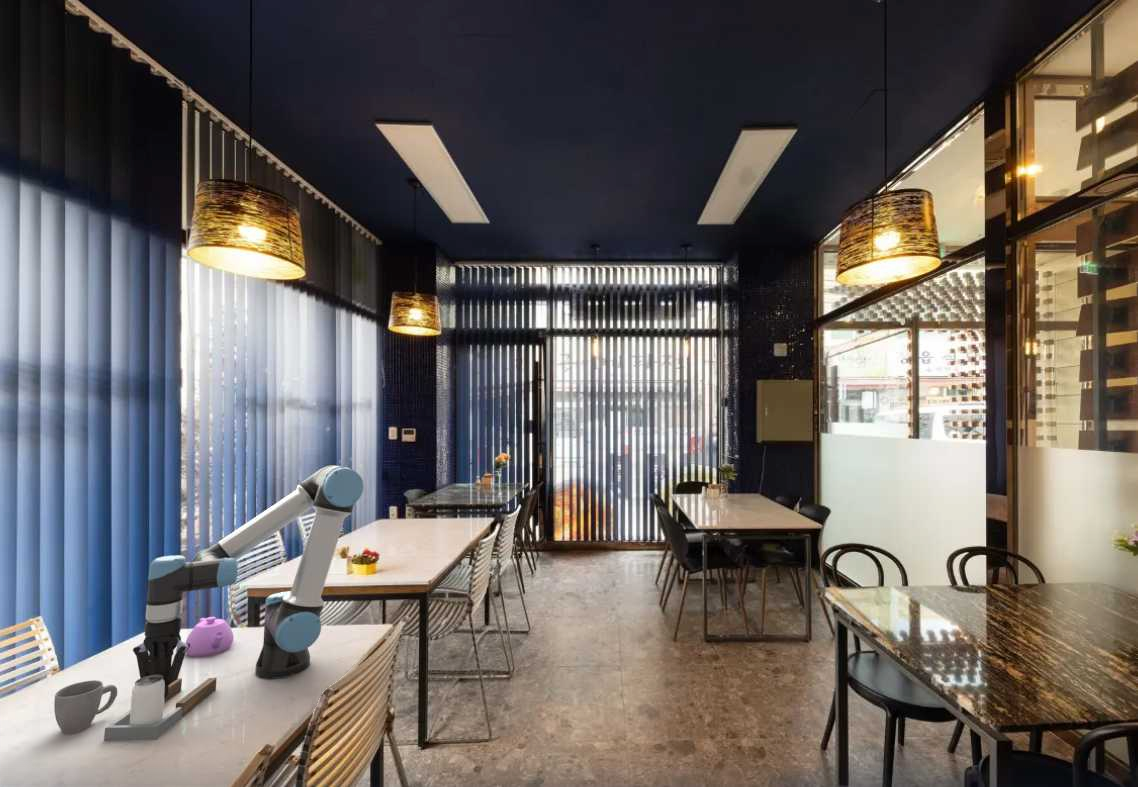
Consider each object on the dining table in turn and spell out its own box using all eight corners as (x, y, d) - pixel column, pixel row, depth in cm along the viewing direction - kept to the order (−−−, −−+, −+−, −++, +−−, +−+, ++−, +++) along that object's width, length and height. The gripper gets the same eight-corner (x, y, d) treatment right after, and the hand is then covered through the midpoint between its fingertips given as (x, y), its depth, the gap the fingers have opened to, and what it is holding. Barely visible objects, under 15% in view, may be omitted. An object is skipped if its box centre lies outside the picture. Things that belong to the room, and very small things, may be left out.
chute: (215, 690, 150) (216, 677, 150) (183, 717, 136) (184, 703, 136) (173, 691, 149) (174, 678, 149) (136, 718, 135) (137, 703, 135)
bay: (181, 719, 135) (182, 707, 135) (156, 739, 126) (157, 726, 126) (132, 720, 134) (133, 708, 134) (103, 740, 125) (104, 727, 125)
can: (145, 738, 126) (148, 686, 127) (121, 735, 127) (125, 684, 128) (168, 723, 133) (172, 674, 134) (146, 721, 134) (149, 672, 134)
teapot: (194, 666, 165) (196, 631, 166) (176, 648, 178) (178, 616, 178) (243, 652, 175) (245, 619, 176) (223, 637, 188) (224, 606, 189)
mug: (57, 743, 124) (61, 701, 125) (47, 731, 129) (50, 690, 129) (121, 720, 134) (124, 681, 135) (109, 709, 139) (112, 672, 139)
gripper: (199, 612, 140) (193, 703, 139) (148, 612, 140) (141, 704, 138) (180, 622, 133) (173, 719, 131) (126, 623, 132) (119, 720, 130)
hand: (157, 711), depth 135 cm, fingers closed
